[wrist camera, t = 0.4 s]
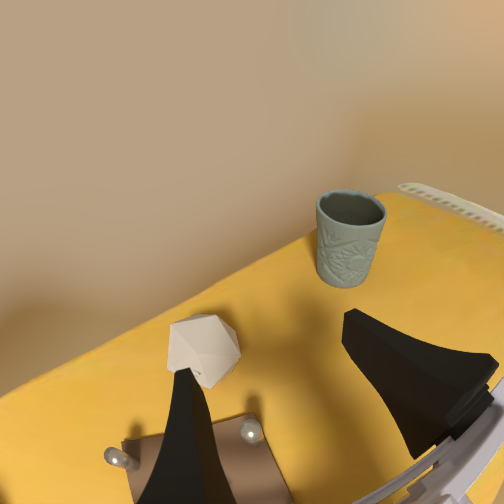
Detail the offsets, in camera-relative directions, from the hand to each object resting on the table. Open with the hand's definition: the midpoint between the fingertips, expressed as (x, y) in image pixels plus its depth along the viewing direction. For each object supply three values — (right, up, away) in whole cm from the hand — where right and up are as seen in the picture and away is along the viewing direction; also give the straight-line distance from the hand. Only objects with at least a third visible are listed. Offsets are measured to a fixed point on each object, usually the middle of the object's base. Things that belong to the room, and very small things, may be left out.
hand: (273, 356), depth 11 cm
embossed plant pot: (+14, +1, +31) cm, 34 cm away
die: (-6, -10, +20) cm, 23 cm away
